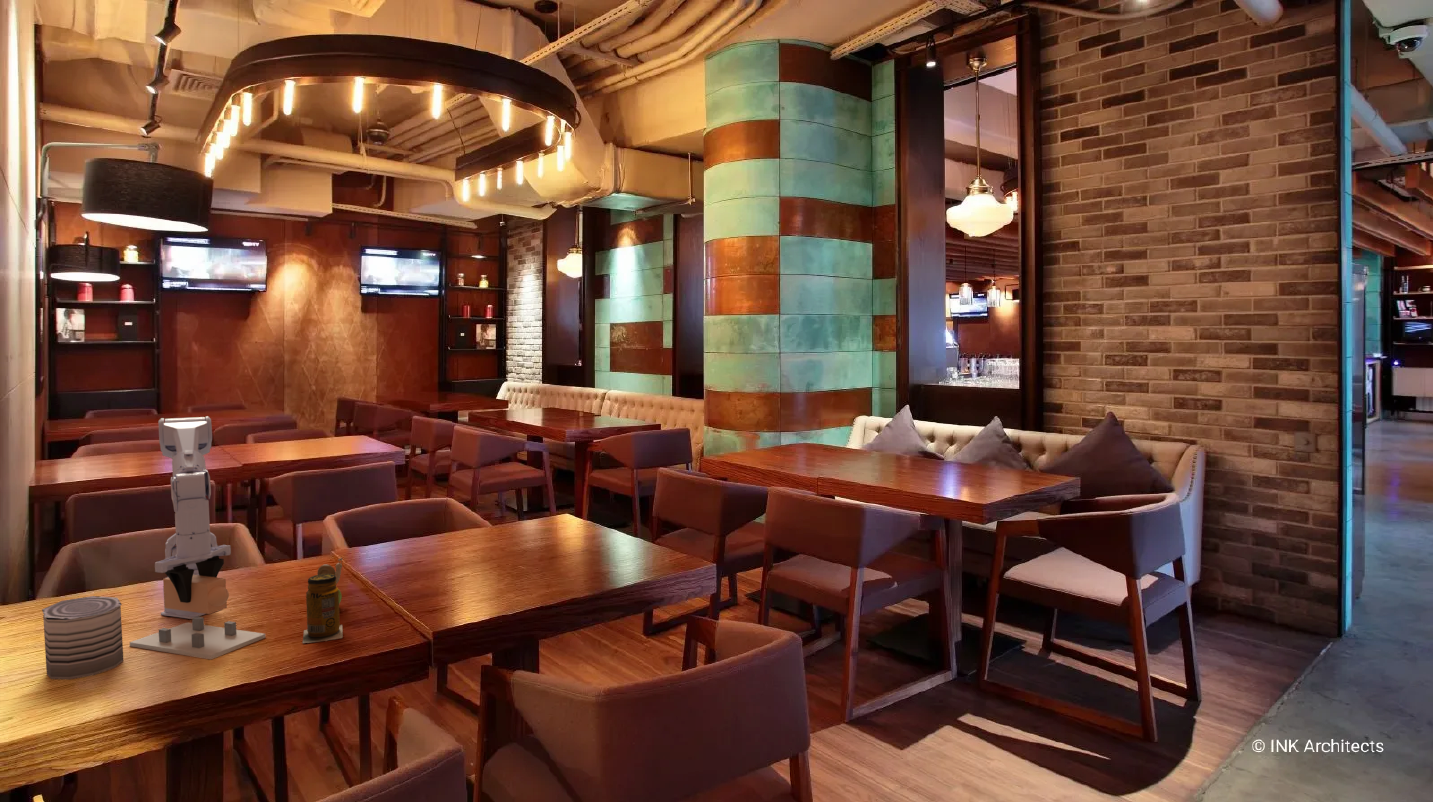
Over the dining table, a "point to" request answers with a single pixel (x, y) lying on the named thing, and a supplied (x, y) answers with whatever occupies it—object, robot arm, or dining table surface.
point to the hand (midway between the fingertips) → (196, 598)
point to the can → (82, 637)
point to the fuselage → (198, 595)
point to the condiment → (322, 609)
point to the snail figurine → (332, 572)
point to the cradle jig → (198, 639)
